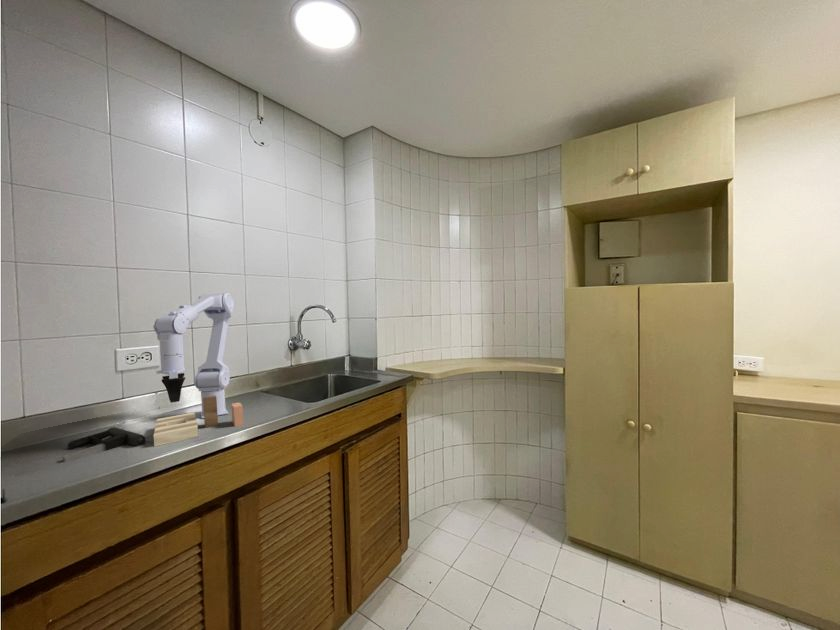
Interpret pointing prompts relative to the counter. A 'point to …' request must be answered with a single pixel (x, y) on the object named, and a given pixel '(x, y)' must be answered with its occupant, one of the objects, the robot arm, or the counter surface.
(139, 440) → the door handle
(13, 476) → the counter surface
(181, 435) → the socket block
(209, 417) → the walnut peg
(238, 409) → the salmon brown flat block
